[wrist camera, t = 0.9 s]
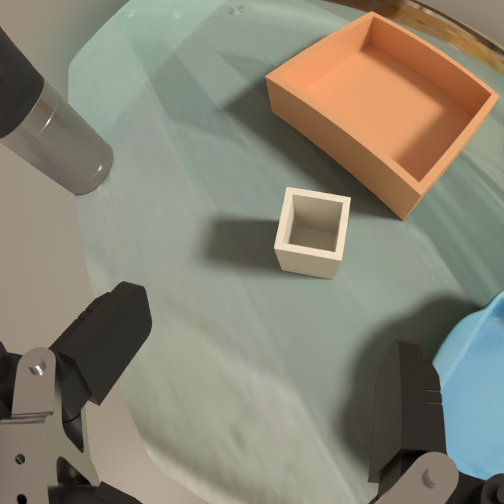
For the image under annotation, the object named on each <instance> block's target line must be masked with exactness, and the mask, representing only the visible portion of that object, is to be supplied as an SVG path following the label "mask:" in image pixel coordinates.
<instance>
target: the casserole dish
mask: <svg viewBox="0 0 504 504" xmlns="http://www.w3.org/2000/svg"><path fill="white" fill-rule="evenodd" d="M432 364H433V366H434V367H435V369H436V371H437V373H438V374H439V379H440V386H441V392H440V393H441V394H442V405H443V412H444V423H445V435H446V450H447V455H448V456H449V457H450V458H451V459H452V460H453V461H454V462H455V464H456V466H457V469H458V470H459V471H460V472H462V473H464V474H467V475H470V476H473V477H477V478H480V479H483V480H488V479H489V478H490V477H492V476H493V475H496V474H499V473H504V290H502V291H501V292H499V293H498V294H497V295H496V296H495V297H494V298H493V299H492V300H491V301H490V302H489V303H488V304H487V305H486V306H485V307H483V308H482V310H480V311H476V312H474V313H471V314H469V315H467V316H465V317H464V318H463V319H461V320H460V321H459V322H458V323H457V324H456V325H455V326H454V327H453V328H452V329H451V331H450V332H449V333H448V335H447V336H446V337H445V339H444V341H443V342H442V344H441V346H440V347H439V349H438V351H437V352H436V354H435V356H434V358H433V360H432Z"/></svg>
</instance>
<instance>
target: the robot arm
mask: <svg viewBox="0 0 504 504" xmlns="http://www.w3.org/2000/svg"><path fill="white" fill-rule="evenodd" d="M0 142H1V143H2V144H3V145H5V146H6V147H8V148H9V149H10V150H12V151H13V152H15V153H16V154H17V155H19V156H21V157H22V158H23V159H24V160H26V161H27V162H29V163H30V164H31V165H33V166H34V167H36V168H37V169H38V170H40V171H41V172H43V173H44V174H46V175H47V176H48V177H50V178H51V179H53V180H54V181H56V182H57V183H58V184H60V185H61V186H63V187H64V188H66V189H67V190H69V191H70V192H72V193H74V194H77V195H82V194H86V193H88V192H90V191H92V190H93V189H95V188H96V187H97V186H98V185H100V183H101V182H102V181H103V180H104V179H105V177H106V176H107V174H108V172H109V170H110V168H111V164H112V159H113V154H112V150H111V147H110V146H109V145H108V144H107V143H106V142H105V141H104V140H103V139H102V138H101V137H100V136H99V135H98V134H97V133H96V131H95V130H94V129H93V128H92V127H91V126H90V125H89V124H88V123H87V122H86V121H85V120H84V119H83V118H82V117H81V116H80V115H79V114H78V113H77V112H76V111H75V110H74V109H73V108H72V107H71V106H70V105H69V104H68V103H67V102H66V101H65V100H64V99H63V98H62V97H61V95H60V94H59V93H58V92H57V91H55V89H54V88H53V87H52V86H51V85H50V84H49V83H48V82H47V81H46V80H45V79H44V78H43V77H42V76H41V75H40V74H39V73H38V72H37V70H36V69H35V68H34V67H33V66H32V64H31V63H30V62H29V61H28V59H27V58H26V57H25V56H24V55H23V54H22V52H21V51H20V50H19V49H18V48H17V47H16V46H15V44H14V43H13V42H12V41H11V40H10V38H9V37H8V36H7V35H6V33H5V32H4V31H3V29H2V28H1V27H0ZM151 328H152V318H151V314H150V309H149V304H148V299H147V294H146V290H145V288H144V287H143V286H140V285H136V284H133V283H129V282H125V281H123V282H120V283H119V284H118V285H117V286H116V287H115V288H114V289H113V290H112V291H111V292H110V293H109V292H107V293H105V294H103V295H102V296H100V297H98V298H96V299H95V300H94V301H93V302H92V303H91V304H90V305H89V306H88V307H87V308H86V310H85V311H83V312H82V313H81V314H80V315H79V316H78V319H75V320H74V322H73V323H72V324H71V325H70V326H69V327H68V328H67V329H66V330H65V331H64V332H63V333H62V335H61V336H60V337H59V338H58V339H57V340H56V341H55V342H54V343H53V344H52V345H51V347H49V348H48V349H47V348H43V347H39V348H34V349H31V350H29V351H28V352H26V353H25V354H24V355H19V354H14V353H8V352H7V351H6V349H5V348H4V345H3V344H2V342H1V341H0V504H142V503H141V502H140V501H138V500H137V499H136V498H134V497H132V496H130V495H128V494H126V493H123V492H122V491H120V490H118V489H116V488H114V487H112V486H110V485H108V484H106V483H105V482H103V481H101V483H99V479H98V475H97V472H96V469H95V467H94V465H93V463H92V461H91V457H90V451H89V443H88V434H87V422H86V411H85V407H84V405H85V404H86V402H87V401H88V400H89V401H91V402H93V403H95V404H97V405H99V406H100V404H101V403H102V401H103V400H104V399H105V397H106V396H107V394H108V393H109V391H110V390H111V388H112V387H113V386H114V384H115V383H116V381H117V380H118V378H119V377H120V376H121V374H122V373H123V371H124V370H125V369H126V367H127V366H128V364H129V363H130V361H131V360H132V359H133V357H134V356H135V354H136V353H137V352H138V350H139V349H140V347H141V346H142V345H143V343H144V342H145V341H146V339H147V338H148V336H149V334H150V331H151ZM440 392H441V386H440V379H439V374H438V373H437V371H436V369H435V367H434V366H433V364H432V362H431V361H423V360H422V354H421V347H420V344H419V343H418V342H412V341H405V340H398V339H395V340H394V342H393V343H392V346H391V348H390V350H389V352H388V354H387V357H386V359H385V361H384V363H383V365H382V367H381V369H380V371H379V374H378V377H377V381H376V388H375V408H374V425H373V438H372V450H371V460H370V470H369V478H368V482H374V483H379V488H378V493H377V494H376V495H375V496H374V497H373V498H372V499H371V500H370V501H369V502H368V503H367V504H504V473H499V474H496V475H493V476H492V477H490V478H489V479H488V480H483V479H480V478H477V477H473V476H470V475H467V474H464V473H462V472H460V471H459V470H458V469H457V466H456V464H455V462H454V461H453V460H452V459H451V458H450V457H449V456H448V455H447V450H446V435H445V423H444V412H443V405H442V394H441V393H440Z"/></svg>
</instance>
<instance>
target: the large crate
mask: <svg viewBox="0 0 504 504" xmlns="http://www.w3.org/2000/svg"><path fill="white" fill-rule="evenodd" d="M265 79H266V84H267V89H268V94H269V99H270V104H271V109H272V112H273V113H274V114H276V115H277V116H279V117H280V118H281V119H283V120H284V121H285V122H287V123H288V124H289V125H291V126H292V127H293V128H295V129H296V130H297V131H299V132H300V133H301V134H303V135H304V136H305V137H306V138H308V139H309V140H310V141H312V142H313V143H314V144H315V145H317V146H318V147H319V148H320V149H322V150H323V151H324V152H325V153H327V154H328V155H329V156H330V157H332V158H333V159H334V160H335V161H336V162H338V163H339V164H340V165H341V166H342V167H344V168H345V169H346V170H347V171H348V172H350V173H351V174H352V175H353V176H354V177H355V178H357V179H358V180H359V181H360V182H361V183H362V184H363V185H365V186H366V187H367V188H368V189H369V190H370V191H371V192H372V193H374V194H375V195H376V196H377V197H378V198H379V199H380V200H381V201H382V202H383V203H384V204H386V205H387V206H388V207H389V208H390V209H391V210H392V211H393V212H394V213H395V214H396V215H397V216H398V217H399V218H400V219H401V220H404V219H405V218H406V217H407V216H408V215H409V213H410V212H411V211H412V210H413V209H414V208H415V207H416V205H417V204H418V203H419V202H420V201H421V200H422V199H423V197H424V196H425V195H426V194H427V193H428V191H429V190H430V189H431V188H432V187H433V186H434V184H435V183H436V182H437V181H438V180H439V178H440V177H441V176H442V175H443V174H444V172H445V171H446V170H447V169H448V167H449V166H450V165H451V164H452V162H453V161H454V160H455V159H456V157H457V156H458V155H459V154H460V152H461V151H462V150H463V149H464V147H465V146H466V145H467V143H468V142H469V141H470V139H471V138H472V137H473V136H474V134H475V133H476V132H477V130H478V129H479V128H480V126H481V125H482V123H483V122H484V120H485V119H486V117H487V116H488V114H489V113H490V111H491V109H492V108H493V106H494V105H495V103H496V101H497V100H498V98H499V97H500V96H499V95H498V94H497V93H495V92H494V91H493V90H492V89H491V88H490V87H488V86H487V85H486V84H485V83H483V82H482V81H481V80H480V79H478V78H477V77H476V76H475V75H473V74H472V73H471V72H469V71H468V70H467V69H465V68H464V67H463V66H461V65H460V64H459V63H457V62H456V61H454V60H453V59H452V58H450V57H449V56H447V55H446V54H444V53H443V52H441V51H440V50H438V49H437V48H435V47H434V46H432V45H431V44H429V43H428V42H426V41H424V40H423V39H421V38H420V37H418V36H416V35H415V34H413V33H411V32H409V31H408V30H406V29H404V28H402V27H401V26H399V25H397V24H395V23H393V22H392V21H390V20H388V19H386V18H384V17H382V16H380V15H378V14H376V13H374V12H370V13H368V14H366V15H364V16H362V17H360V18H358V19H357V20H355V21H353V22H351V23H349V24H347V25H346V26H344V27H342V28H340V29H339V30H337V31H335V32H333V33H332V34H330V35H328V36H327V37H325V38H323V39H322V40H320V41H318V42H317V43H315V44H313V45H312V46H310V47H309V48H307V49H305V50H304V51H302V52H301V53H299V54H298V55H296V56H295V57H293V58H291V59H290V60H288V61H287V62H285V63H284V64H282V65H281V66H279V67H278V68H276V69H275V70H274V71H272V72H271V73H269V74H268V75H266V76H265Z"/></svg>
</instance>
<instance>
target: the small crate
mask: <svg viewBox="0 0 504 504" xmlns="http://www.w3.org/2000/svg"><path fill="white" fill-rule="evenodd" d="M350 199H351V198H350V197H345V196H339V195H333V194H328V193H322V192H316V191H309V190H303V189H297V188H290V187H287V189H286V194H285V198H284V203H283V208H282V213H281V217H280V222H279V227H278V231H277V236H276V241H275V245H274V250H275V253H276V255H277V258H278V261H279V263H280V266H281V269H282V270H284V271H289V272H294V273H300V274H305V275H310V276H316V277H321V278H326V279H332V280H333V279H334V277H335V274H336V272H337V270H338V268H339V265H340V263H341V261H342V255H343V249H344V242H345V236H346V229H347V222H348V215H349V207H350Z"/></svg>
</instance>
